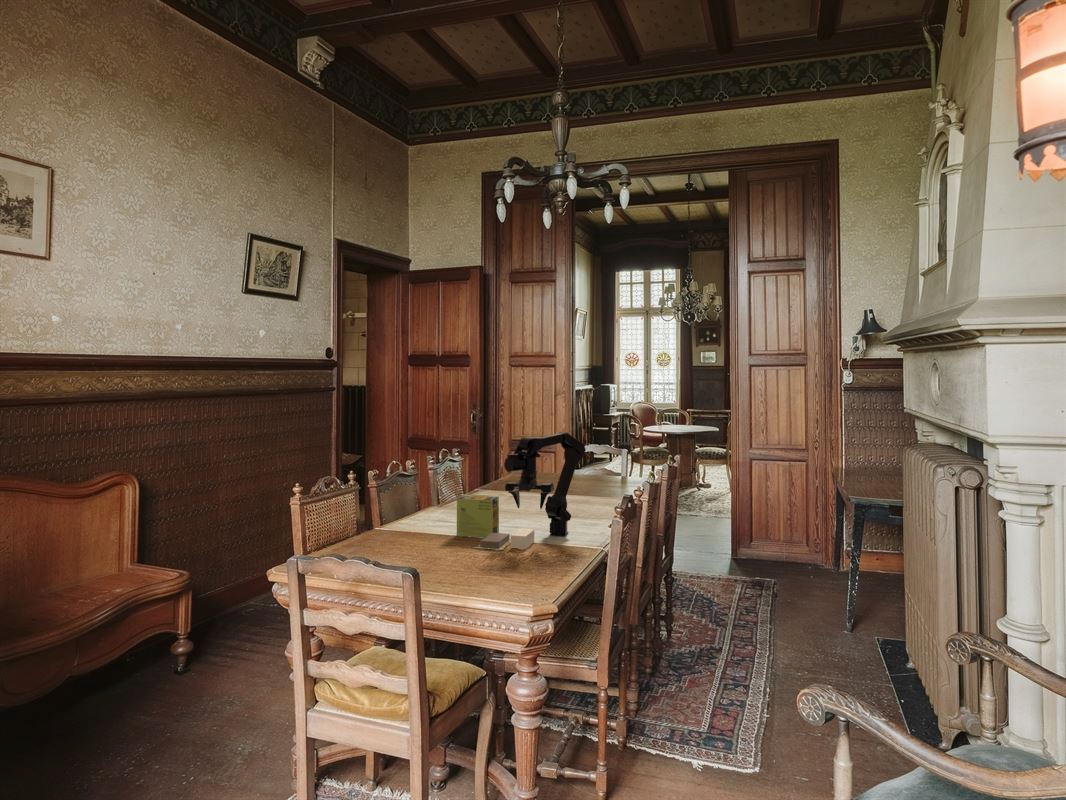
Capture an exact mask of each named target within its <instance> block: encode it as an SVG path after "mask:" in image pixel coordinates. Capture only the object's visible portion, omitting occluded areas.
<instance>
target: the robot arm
mask: <svg viewBox="0 0 1066 800" xmlns="http://www.w3.org/2000/svg"><path fill="white" fill-rule="evenodd" d="M558 444H560V446H561V448H563V451H564V452H563V456H564V463H563V466H562V470H561V472H560V476H559V479H558V482H557V485H556V488H555V485H554V483H553V482H543V483H542V484H538V480H537V479H538V478H537V475H538V470H537V458H541V456H542V455H541V454H540V453H539V451H541V450H542V449H543V448H545V447H548V446H553V445H558ZM586 450H587V449H586V446H585V443H583V442H581V441H580V440H578V439H577V438H575V437H574V436H572V435H571V434H570V433H569V432H563V431H560V432H557V433H552V434H549V435H544V436H538V437H535V436H528V437H527V436H523V437H521V438H520V440H519V443H518V445H517V447H516V448H515V451H514V452H513V453H508V454H507V455H506V456H507V457H506V458H505V460H504V462H503V464H504V465H503V466H504V469H505V470H506V472H507V473H514V472H519V471H520V473H521V474H520V478H519V480H518V481H509V482H506V483H505V485H504V491H505V492H508V493H509V494H511V495H512V497H513V499H514V502H515V504H516V507H517V509H520V508H521V507H520V506H521V500H520V499H521V498H520V496H521V495H520V492H530V491H531V490H537V491H538V490H541V492H540V493H539V494H540V503H539V509H540V510H542V509H543V506H544V507H545V508H544V509H545V514H546V515H547V518H548V519H550V522H549V536H554V537H555V536H556V537H558V536H559V537H566V536H567V535H568V534H569V531H568V522H569V521H571V519H572V514H571V513H570V512H569V511H568V510H567V509H568V501H567V500H568V499H567V495H568V492H569V490H570V485H571V482H572V481H573V480H572V479H573V477H574V474H575V470H576V467H577V464H579V463H580V462H581V460H582V459H583V458H584V456H585V454H586ZM553 491H554V494H552V495H551V496H550V495H549V494H550V493H552V492H553Z"/></svg>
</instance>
